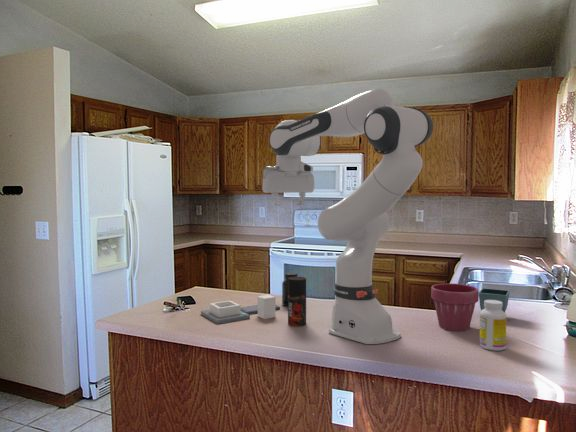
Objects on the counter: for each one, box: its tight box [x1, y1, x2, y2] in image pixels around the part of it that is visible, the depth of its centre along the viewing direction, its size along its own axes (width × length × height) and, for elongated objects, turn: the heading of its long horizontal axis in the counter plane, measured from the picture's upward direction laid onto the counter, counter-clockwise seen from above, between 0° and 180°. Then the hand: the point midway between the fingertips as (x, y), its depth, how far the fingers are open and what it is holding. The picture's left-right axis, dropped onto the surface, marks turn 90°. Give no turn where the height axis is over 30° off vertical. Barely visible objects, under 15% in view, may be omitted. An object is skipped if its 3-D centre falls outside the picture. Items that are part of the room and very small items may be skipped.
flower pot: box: [478, 287, 510, 313], centre depth 156 cm, size 9×9×9 cm
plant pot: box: [430, 283, 479, 332], centre depth 145 cm, size 14×14×13 cm
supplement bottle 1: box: [281, 272, 299, 307], centre depth 173 cm, size 7×7×12 cm
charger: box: [257, 294, 276, 320], centre depth 157 cm, size 5×4×7 cm
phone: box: [240, 304, 281, 315], centre depth 166 cm, size 14×7×1 cm, turn 123°
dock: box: [200, 300, 251, 325], centre depth 158 cm, size 14×12×4 cm
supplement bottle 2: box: [479, 300, 507, 352], centre depth 126 cm, size 7×7×13 cm
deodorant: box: [287, 276, 307, 327], centre depth 148 cm, size 6×6×15 cm
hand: (288, 205), depth 163 cm, fingers open, 8 cm apart
